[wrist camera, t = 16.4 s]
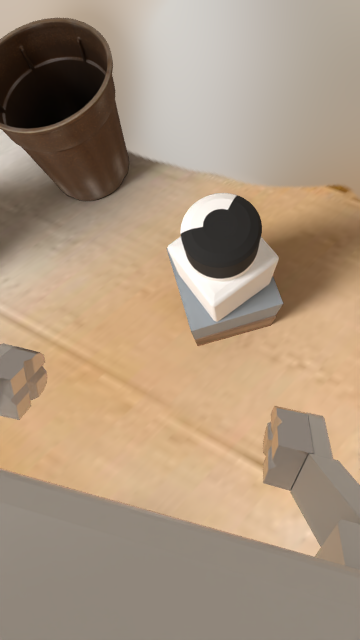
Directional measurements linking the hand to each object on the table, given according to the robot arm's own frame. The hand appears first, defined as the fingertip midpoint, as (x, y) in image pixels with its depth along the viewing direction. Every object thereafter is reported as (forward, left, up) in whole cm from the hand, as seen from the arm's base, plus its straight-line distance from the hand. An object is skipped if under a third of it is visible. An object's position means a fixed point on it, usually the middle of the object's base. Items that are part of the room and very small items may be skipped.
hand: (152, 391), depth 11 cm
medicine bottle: (-11, +7, -23) cm, 26 cm away
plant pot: (-39, -5, -32) cm, 51 cm away
